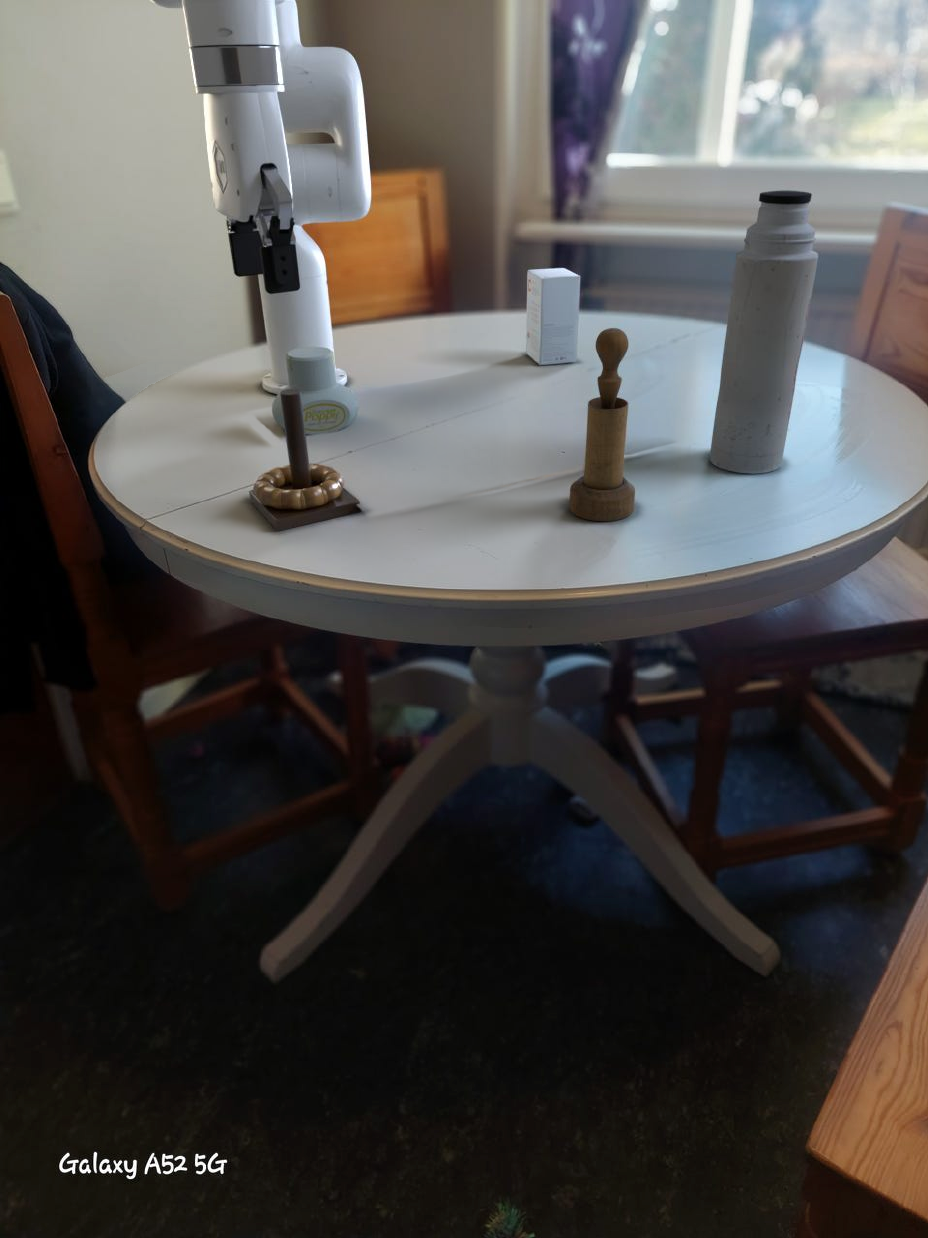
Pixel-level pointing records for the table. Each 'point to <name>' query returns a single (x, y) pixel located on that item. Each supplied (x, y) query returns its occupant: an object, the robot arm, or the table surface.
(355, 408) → the air freshener
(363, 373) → the table surface
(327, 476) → the lobed golden ring
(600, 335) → the mortar and pestle
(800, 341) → the thermos bottle
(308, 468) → the peg stand
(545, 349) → the small box
